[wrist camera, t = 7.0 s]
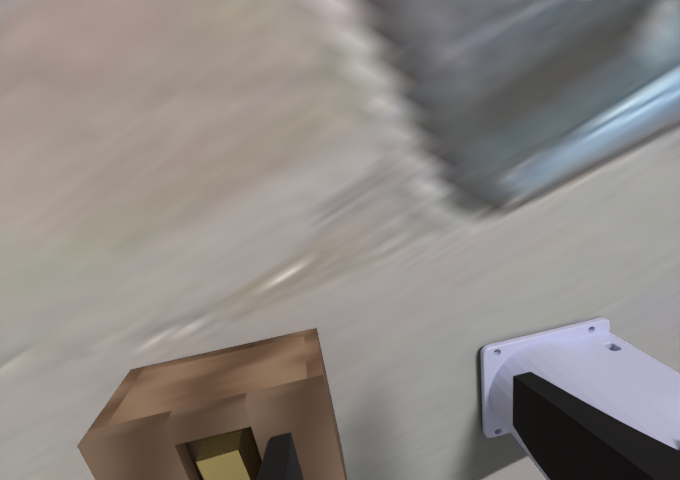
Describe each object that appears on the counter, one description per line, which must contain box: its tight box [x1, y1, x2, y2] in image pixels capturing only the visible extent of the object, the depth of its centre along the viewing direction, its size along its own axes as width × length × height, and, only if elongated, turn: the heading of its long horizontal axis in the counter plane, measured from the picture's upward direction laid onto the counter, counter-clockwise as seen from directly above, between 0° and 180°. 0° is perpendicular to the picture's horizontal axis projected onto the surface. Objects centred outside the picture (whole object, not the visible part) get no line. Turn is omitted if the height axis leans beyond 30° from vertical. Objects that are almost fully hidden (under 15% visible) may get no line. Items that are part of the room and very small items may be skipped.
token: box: [196, 427, 262, 480], centre depth 18 cm, size 2×5×4 cm, turn 12°
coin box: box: [77, 328, 347, 480], centre depth 18 cm, size 11×10×5 cm
